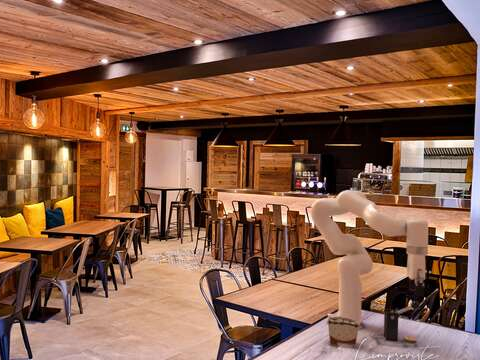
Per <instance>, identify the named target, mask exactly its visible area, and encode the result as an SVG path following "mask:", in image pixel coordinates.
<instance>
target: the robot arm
mask: <svg viewBox="0 0 480 360" xmlns="http://www.w3.org/2000/svg"><path fill="white" fill-rule="evenodd" d="M348 213H351V214H353V215H355V216H357V217H358V218H360V219H362V220H363V221H364V222H365V223H366V224H367V226H369V227H370V229H372V230H374V231H377V232H378V233H380V234H382V235H384V236H386V237H401V236H402V237H403V236H406V247H405V248H406V254H407V261H406V262H407V263H406V276H407V277H408V278H409V280H408V290H409V291H414V296H415V297H424V296H425V280H426V256H428V254H429V222H428V221H427V220H425V219H416V218H412V219H411V218H407V217H389V216H387V215H385V214H383V213H381V212H379V210H377V204H376V203H375V202H374V201H371V199H370V200H369V199H367V196H366V195H365V193H364V192H363V191H361V190H355V189H354V190H349V189H348V190H342V191H341V192H340V193H338V195H337V197H323V198H319V199H316V200H315V201H314V202H313V204H311V208H310V217H311V220H312V222H313V224H314V225H315V227H316V228H317V230H318V231H319V233H320V234H321V236H322V238H323V240H324V242H325V244H326V246H327V247H328V248H329V250H330V252H331V253H332V254H333V255H336V256H341V258H339V259H338V262H337V265H336V266H337V267H336V268H337V275H338V311H337V312H336V313H327V318H328V319H329V318H332V317H344V318H349V319H353V320H355V321H357V322H358V323H359V325H361V324H362V295H363V294H362V293H363V287H362V281H361V277H360V276H363V275H367V274H370V273H371V272H372V270H373V268H374V264H373V259H372V258H371V256H370V254H369V253H368V251H367V249H366V248H365V246H364V245H363V243H362V241H361V239H359V238H358V237H357V236H356V235H354V234H352V233H343V232H342V230H341V229H340V227H339V225H338V223H336V222H335V220H333V219H332V218H331V217H333V216H334V217H335V216H342V215H345V214H348Z"/></svg>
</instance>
